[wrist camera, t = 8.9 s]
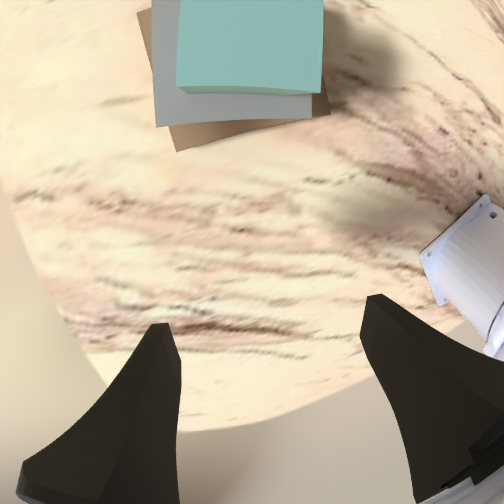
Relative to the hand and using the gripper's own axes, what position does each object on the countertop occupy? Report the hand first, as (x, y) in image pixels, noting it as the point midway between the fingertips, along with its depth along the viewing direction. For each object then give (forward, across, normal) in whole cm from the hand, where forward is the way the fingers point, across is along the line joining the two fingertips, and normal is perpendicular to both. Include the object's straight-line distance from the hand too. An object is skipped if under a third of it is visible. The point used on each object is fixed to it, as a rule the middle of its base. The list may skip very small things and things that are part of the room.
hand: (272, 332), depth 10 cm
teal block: (+7, 0, -10) cm, 12 cm away
